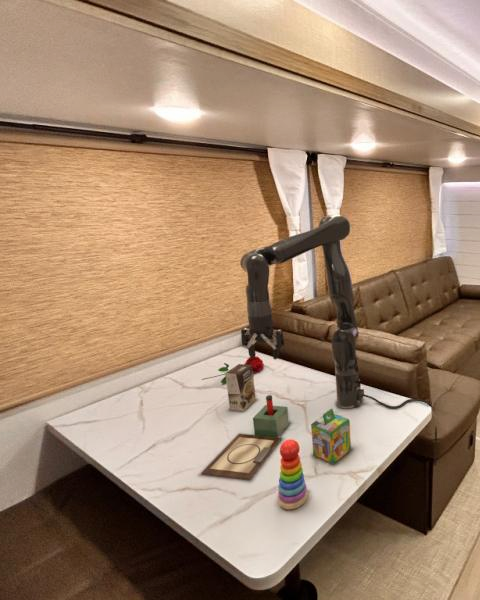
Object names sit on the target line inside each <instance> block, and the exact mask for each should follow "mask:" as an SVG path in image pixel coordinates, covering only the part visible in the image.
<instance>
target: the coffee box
mask: <svg viewBox="0 0 480 600" xmlns="http://www.w3.org/2000/svg"><path fill="white" fill-rule="evenodd" d="M224 374H225V375H224V376H226V383H225V384H226V389H227V398H228V405H229V410H230V411H237V412H244V411H245V410H247V408H249V407H250V406H251V405H253V404H254V403H255V402H256V401H257V397H256V395H257V394H256V390H255V389H256V387H255V379H254V372H253V370H252V365H245V363H244V364H242V363H241V364H240V363H238V364H236V365H235V366H234V367H232V368H231V369H228V371H226V372H224Z"/></svg>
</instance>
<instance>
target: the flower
mask: <svg viewBox="0 0 480 600" xmlns="http://www.w3.org/2000/svg"><path fill="white" fill-rule="evenodd" d="M244 364H245V365H252V370H253V373H260V371H261V370H263V367H264V366H265V364H264V361H263V359H262V358H261V357H259V356H256V355H255V357H253V358H251V357H250V356H249V357H248V358H247V360H246V361H245V362H244ZM223 365H224V366H222V367H220V368H218V369H217V371H218V372H221V373H222V372H224V373H223V374H218V375H215V376H209V377H204V378H202V379H201V380H202V381H203V380H208V379H212V378H216V377H221V376H224V377H223V378H222V380H221V381H220V383H221V384H227V383H226V375H225V373H226V372H228V371H229V367H230V365H229V364H228V363H226V362H224V363H223Z"/></svg>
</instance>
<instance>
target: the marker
mask: <svg viewBox="0 0 480 600" xmlns="http://www.w3.org/2000/svg"><path fill="white" fill-rule="evenodd" d="M265 400H266V405H267V411H268V415H271V416H273V415H274V411H273V406H274V405H273V403H274V402H273V395H271V394H269V395H266V396H265Z"/></svg>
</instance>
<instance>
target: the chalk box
mask: <svg viewBox="0 0 480 600" xmlns="http://www.w3.org/2000/svg"><path fill="white" fill-rule="evenodd" d="M350 420H351V419H349V418H347V417H344V416H342V415H340V414H337V413H335V411H334V409H333V408H330V409H328V410H327V411H326V412H324V413H323V414H322V416H320V417H319V418H318V419H316V420H314V421H313V422H312V423H310V427H311V429H310V430H311V441H312V453H313V456H315V457H317V458H319V459H321V460H323V461H325V462H327V463H330V464H332V465H335V464H336V463H337V462H338V461H339V460H341V458H343V457H344V456H345V455H346V454H347V453H348V452H349V451H351V450H352V446H351V445H352V444H351V443H352V442H351V423H350V422H351V421H350Z"/></svg>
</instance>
